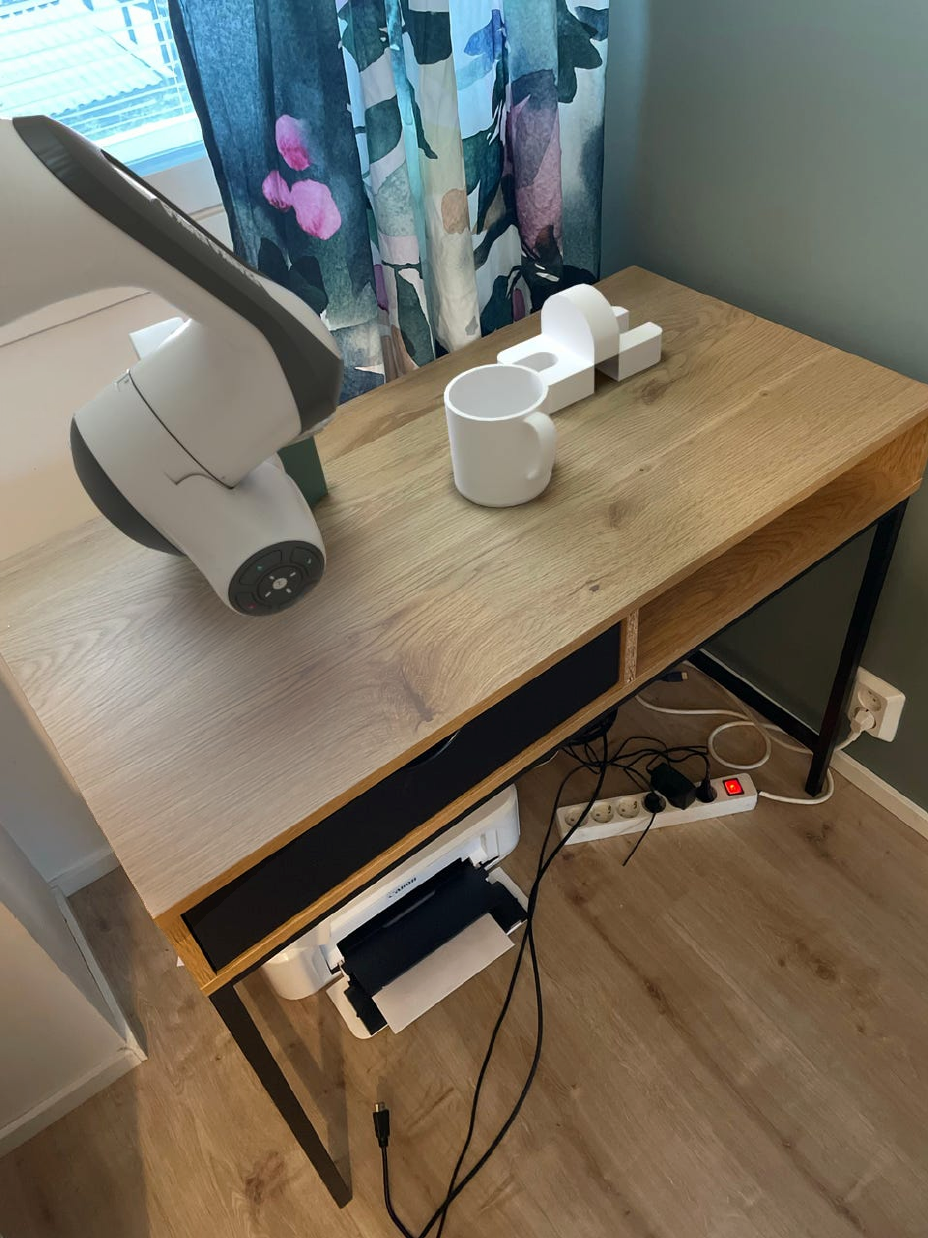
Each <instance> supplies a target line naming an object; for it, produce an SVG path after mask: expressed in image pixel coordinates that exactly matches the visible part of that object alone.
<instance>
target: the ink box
mask: <svg viewBox="0 0 928 1238" xmlns="http://www.w3.org/2000/svg"><path fill="white" fill-rule="evenodd" d="M185 323H186V322H185V321H184V320H183V318H182V317H180V316H176V317H172V318H169V319H166V320H164V321H161V322H158V323H156V324H152V325H150V326H147V327H144V328H142V329H139V330H137V331H133V332H131V333H128V338H129V340H130V343H131V345H132V347H133V349H134V352H135V355H136V357H137V359H138V362H139V361H140V360H141V359H143V358H144V357H145V356H146V355H147V354H149V353H150V352H151V351H152V350H153V349H155V348H156V347H157V346H158V345H160V344H161V343H162V342H163V341H164V340H166V339H167V338H168V337H169V336H170V335H172V334H173V333H174V332H175V331H177V330H178V329H179V328H180V327H181V326H183V325H184V324H185Z"/></svg>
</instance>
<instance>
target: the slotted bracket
mask: <svg viewBox="0 0 928 1238" xmlns="http://www.w3.org/2000/svg"><path fill="white" fill-rule="evenodd" d="M540 311H541V313H540V324H541V333H540V334H538V335H536V336H533V337H531V338H529V339H526V340H525V341H522V342H520V343H518V344H516V345H513V346H511V347H509V348H506V349H503V350H501V351H500V352H499V353H498V354H497V356H496V360H497V364H515V365H521V366H525V367H528V368H531V369H533V370H535V371H537V372H538V373H540V374H541V375H542V376H543V377H544V378H545V380H546V381H547V384H548V391H549V415H551V414H554V413H556V412H558V411H560V410H562V409H564V408H566V407H568V406H570V405H572V404H574V403H577V402H579V401H581V400H583V399H585V398H587V397H590V396H591V395H593V394H595V369H597V370H598V371H600V372H602V373H603V374H605V375H607V376H608V377H610V378H612V379H614V380H615V381H617V382H620V381H622V380H625V379H627V378H629V377H631V376H633V375H635V374H637V373H639V372H641V371H643V370H646V369H647V368H650V367H652V366H654V365H656V364H658V363H659V362H660V361H661V359H662V358H661V357H662V340H663V329H662V326H659V325H658V324H656V323H653V322H652V321H648V322H645V323H644V324H641V325H638V326H637V327H634V328H633V329H632V328H631V329H630V330H629V328H630V327H629V325H630V310H628V309H626V308H624V307H622V306H616V305H615V306H612V305H611V304H610V302H609V301H608V300H607V298H606V296H604V295H603V293H602V292H601V291H599V290H598V289H597V288H595V287H594V286H593V285H590V284H586V283H581V284H576V285H573V286H572V287H569V288H566V289H564V290H562V291H559V292H556V293H555V294H552V295H550V296H549V297H548V298H547V299H546V300H545V301H544V303H543V306H542V308H541V310H540Z"/></svg>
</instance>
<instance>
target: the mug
mask: <svg viewBox="0 0 928 1238" xmlns="http://www.w3.org/2000/svg"><path fill="white" fill-rule="evenodd" d="M443 402H444V409H445V416H446V423H447V432H448V441H449V446H450V454H451V462H452V469H453V478H454V485H455V488H457V491H458V492H459V493H460V494H461V495H462V496H463V497H464V498H465V499H466V500H468V501H470V502H472V503H474V504H476V505H480V506H484V507H490V508H508V507H514V506H518V505H522V504H525V503H527V502H530V501H531V500H533V499H535V498H537V497H538V496H539V495H540V494H542V493H543V492H544V490H546V488H547V487H548V486H549V484H550V482H551V478H552V469H553V468H554V467H553V466H554V464H555V460H556V457H557V449H558V437H557V436H558V435H557V431H556V427H555V424H554V422H553V420H552V419H551V418H550V414H549V391H548V384H547V381H546V380H545V378H544V377H543V376H542V375H541V374H540V373H538V372H537V371H535V370H533V369H531V368H528V367H525V366H521V365H515V364H498V363H490V364H484V365H480V366H476V367H473V368H470V369H468V370H466V371H464V372H462V373H460V374H458V375H456V377H454V378H453V379H452V380H451V381H449V383H448V384H447V385H446V387H445V390H444V392H443Z"/></svg>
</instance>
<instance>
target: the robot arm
mask: <svg viewBox="0 0 928 1238" xmlns="http://www.w3.org/2000/svg"><path fill="white" fill-rule="evenodd" d="M117 288H133V289H139V290H144V291H146V292H149V293H151V294H153V295H154V296H156V297H157V298H159V299H160V300H162V301H164V302H165V303H166V304H168V305H169V306H171V307H173V308H174V309H176V310H177V311H179V312H180V313H182V314H183V315H185V316H186V317H188V318H189V319H188V320H186V322H184V323H185V324H184V325H183V326H181V327H180V328H179V329H178V330H177V331H175V332H174V333H173V334H172V335H170V336H169V337H168V338H167V339H166V340H164V341H163V342H162V343H161V344H160V345H158V346H157V347H156V348H155V349H153V350H152V351H151V352H150V353H149V354H147V355H146V356H145V357H144V358H143V359H141V360H140V361H139V360H138V362H136V363H135V364H134V365H133V366H131V367H130V368H127V369H126V370H125V371H124V372H122V373H120V375H118V376H117V377H116V378H115V379H113V380H112V381H111V382H110V383H109V384H108V385H106V386H105V387H104V388H103V389H102V390H100V391H99V392H98V393H96V394H95V396H93V397H92V398H91V399H90V400H89V401H88V402H86V403H85V404H84V405H83V406H82V407H81V408H80V409H79V410H78V411H76V412H75V413H73V414H72V418H71V422H70V429H69V430H70V431H69V437H68V438H67V445H68V447H69V449H70V451H71V456H72V462H73V465H74V466H73V467H74V470H75V472H76V475H77V477H78V479H79V482H80V483H81V485H82V487H83V488H84V490H85V492H86V494H87V495H88V497H89V498H90V499H91V502H92V503H93V505H94V506H95V507H96V509H98V510H99V512H100V513H101V514H102V515H103V516H104V517H105V518H106V519H107V520H108V521H109V522H110V524H112V525H113V526H114V527H115V528H116V529H118V530H119V531H120V532H121V533H122V534H124V535H125V536H126V537H128V538H129V539H131V540H132V541H134V542H136V543H138V544H139V545H141V546H144V547H145V548H147V549H150V550H155V551H158V552H161V553H163V554H164V553H165V554H168V555H172V556H177V557H185V558H186V557H188V558H189V559H190V560H191V561H192V563H193V564H194V565H195V566H196V567H197V569H199V571H200V572H201V573H202V575H203V576H204V578H205V580H207V582H208V583H209V585H210V586H211V587H212V589H213V590H214V592H215V593H216V594H217V596H218V598H219V599H220V600H221V601H222V602H223V603H224V604H225V605H226V606H227V607H228V608H230V609H231V610H232V611H234V612H235V613H236V614H239V615H242V616H245V617H250V618H264V617H268V616H269V617H270V616H272V615H277V614H279V613H282V612H284V611H286V610H288V609H289V608H291V607H292V606H293V607H294V605H296V604H297V603H299V602H300V601H301V600H303V599H304V598H305V597H306V596H307V595H309V594H310V593H311V592H312V591H313V590H314V589H315V588H316V587H317V585H319V583H320V581H321V579H322V578H323V576H324V572H325V570H326V567H327V552H326V547H325V544H324V540H323V537H322V534H321V531H320V528H319V525H318V523H317V521H316V518H315V517H314V514H313V512H312V509H311V510H310V508H309V506H308V504H307V502H306V500H305V498H304V497H303V495H302V493H301V491H300V490H299V488H298V486H297V485H296V484H295V482H294V481H293V480H292V478H291V477H290V476H289V475H288V474H286V473H285V469H284V466H283V463H282V461H281V459H280V457H279V456H278V454H277V451H278V450H280V449H281V448H283V447H286V446H288V445H291V444H294V443H297V442H300V441H303V440H305V439H307V438H309V437H311V436H317V435H319V434H320V433H322V432H324V428H325V427H326V426H327V425H329V424H330V423H332V421H334V418H335V413H336V412H337V409H338V405H339V401H340V397H341V393H342V389H343V384H344V375H345V360H344V358H343V356H342V354H341V351H340V348H339V346H338V344H337V341H336V340H335V338H334V336H333V334H332V333H331V331H330V330H329V328H328V327H327V325H326V323H324V321H323V319H321V318H320V316H319V315H318V314H317V312H316V311H315V310H314V309H313V308H312V307H310V305H308V303H306V302H305V301H304V300H303V299H302V298H301V297H300V296H298V295H296V294H295V293H294V292H292V291H291V290H289V289H287V288H285V287H284V286H282V285H281V284H278V283H277V282H276V281H274V280H273V279H272V278H270V277H269V276H268V275H267V274H265V273H263V272H262V271H260V270H259V269H257V268H255V267H254V266H252V265H251V264H250V263H248V262H247V261H246V260H244V259H243V258H241V257H240V256H239V255H238V254H236V253H235V252H234V251H233V250H231V249H230V248H229V247H228V246H227V245H226V244H224V243H223V242H222V241H220V240H219V239H218V238H217V237H216V236H214V235H213V234H212V233H211V232H209V230H207V229H206V228H205V227H203V226H202V225H201V224H200V223H198V222H197V221H196V220H194V219H193V217H191V216H190V215H188V214H187V213H186V212H185V211H184V210H183V209H181V208H180V207H179V206H177V205H176V204H175V203H174V202H172V200H170V199H169V198H168V197H167V196H165V195H164V194H163V193H162V192H160V191H159V190H157V189H156V188H155V187H154V186H153V185H151V184H150V183H149V182H148V181H146V180H145V179H144V178H142V177H141V176H140V175H139V174H137V173H136V172H134V171H133V170H132V169H130V168H129V167H128V166H127V165H125V164H124V163H122V162H121V161H120V160H119V159H118V158H116V157H115V156H113V155H112V154H111V153H109V152H108V151H107V150H106V149H104V148H103V147H101V146H100V145H99V144H97V143H96V142H94V141H93V140H92V139H90V138H88V137H87V136H86V135H84V134H83V133H81V132H79V131H78V130H76V129H74V128H72V127H71V126H69V125H67V124H65V123H63V122H62V121H60V120H57V119H55V118H54V117H51V116H49V115H46V114H33V115H32V114H31V115H21V116H20V115H19V116H12V118H9V117H3V116H0V330H2V329H3V328H5V327H8V326H10V325H12V324H14V323H16V322H18V321H20V320H22V319H24V318H27V317H28V316H31V315H33V314H35V313H38V312H40V311H44V310H46V309H47V308H50V307H53V306H56V305H58V304H61V303H63V302H66V301H70V300H72V299H75V298H78V297H82V296H85V295H89V294H92V293H95V292H100V291H105V290H110V289H117Z"/></svg>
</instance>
